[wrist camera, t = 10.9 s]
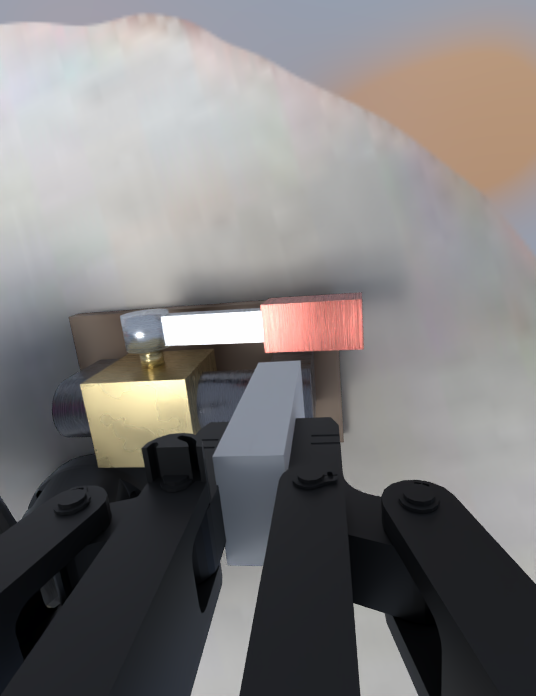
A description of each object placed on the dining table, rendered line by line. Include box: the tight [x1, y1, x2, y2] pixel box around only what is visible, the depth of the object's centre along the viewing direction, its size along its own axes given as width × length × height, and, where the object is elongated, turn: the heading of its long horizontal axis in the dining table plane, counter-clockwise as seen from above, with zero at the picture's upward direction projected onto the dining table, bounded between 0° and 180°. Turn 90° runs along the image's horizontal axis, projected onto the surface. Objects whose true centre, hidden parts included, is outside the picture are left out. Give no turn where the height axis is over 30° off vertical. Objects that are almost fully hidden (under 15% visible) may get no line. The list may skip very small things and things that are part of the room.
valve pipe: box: [52, 349, 316, 468], centre depth 31 cm, size 18×7×8 cm, turn 96°
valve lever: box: [120, 292, 364, 354], centre depth 28 cm, size 3×3×16 cm
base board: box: [69, 300, 344, 442], centre depth 36 cm, size 22×12×2 cm, turn 96°
